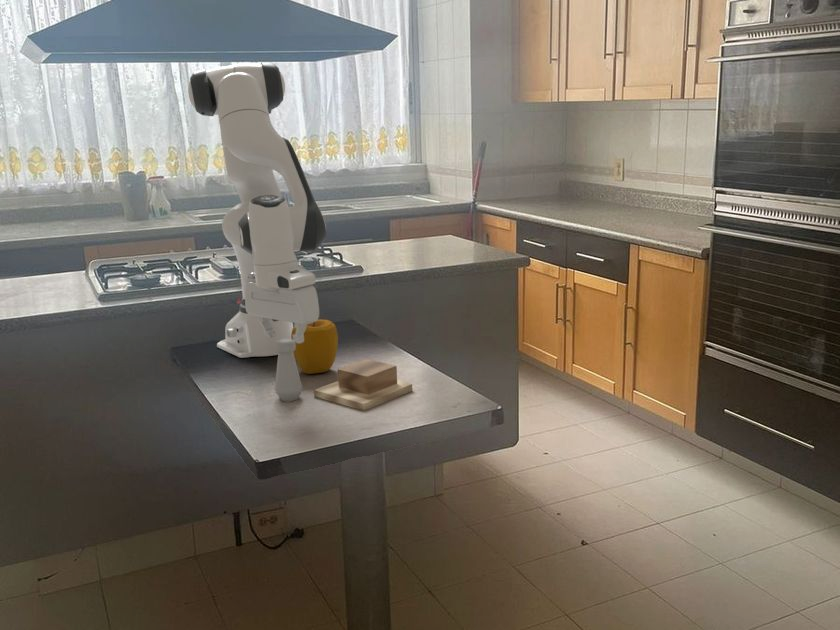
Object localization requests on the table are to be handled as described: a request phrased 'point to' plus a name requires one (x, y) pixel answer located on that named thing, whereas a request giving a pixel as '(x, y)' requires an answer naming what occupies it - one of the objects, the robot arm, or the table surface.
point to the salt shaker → (287, 371)
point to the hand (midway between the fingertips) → (284, 339)
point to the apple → (317, 347)
